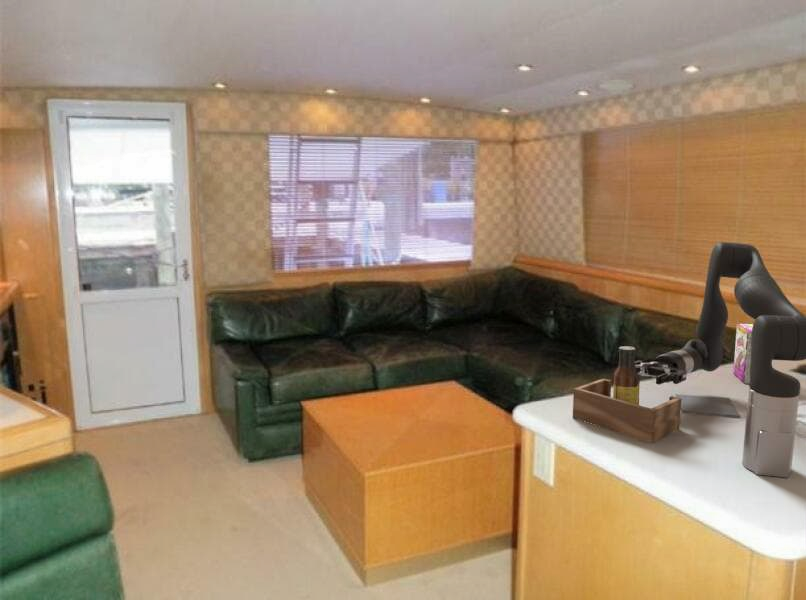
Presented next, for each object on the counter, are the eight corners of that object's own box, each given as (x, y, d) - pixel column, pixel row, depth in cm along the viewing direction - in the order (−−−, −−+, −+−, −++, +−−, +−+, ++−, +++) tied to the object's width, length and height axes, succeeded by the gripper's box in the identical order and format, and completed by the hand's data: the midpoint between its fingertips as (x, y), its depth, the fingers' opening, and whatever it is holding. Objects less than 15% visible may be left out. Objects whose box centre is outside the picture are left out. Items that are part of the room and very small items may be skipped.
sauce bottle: (643, 426, 162) (648, 349, 158) (623, 429, 160) (627, 352, 156) (625, 417, 168) (629, 343, 164) (606, 420, 166) (610, 346, 162)
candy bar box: (731, 373, 205) (736, 323, 202) (748, 374, 204) (753, 323, 201) (742, 383, 195) (747, 331, 192) (760, 384, 194) (765, 331, 191)
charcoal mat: (739, 417, 167) (740, 415, 167) (681, 412, 171) (681, 410, 171) (728, 400, 180) (729, 398, 180) (675, 396, 184) (675, 394, 184)
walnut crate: (601, 406, 176) (603, 378, 175) (679, 429, 160) (681, 398, 158) (572, 417, 168) (573, 388, 166) (651, 443, 151) (653, 411, 150)
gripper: (650, 347, 181) (618, 357, 171) (700, 357, 170) (669, 368, 160) (648, 372, 182) (616, 384, 172) (698, 384, 171) (667, 397, 161)
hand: (641, 376), depth 166 cm, fingers open, 8 cm apart
